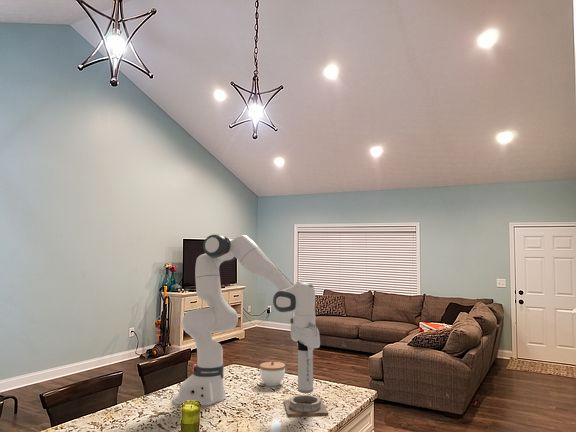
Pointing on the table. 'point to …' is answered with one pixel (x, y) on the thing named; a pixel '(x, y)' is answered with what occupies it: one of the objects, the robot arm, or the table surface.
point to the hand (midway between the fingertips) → (305, 355)
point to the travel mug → (304, 370)
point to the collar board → (305, 406)
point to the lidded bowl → (272, 373)
